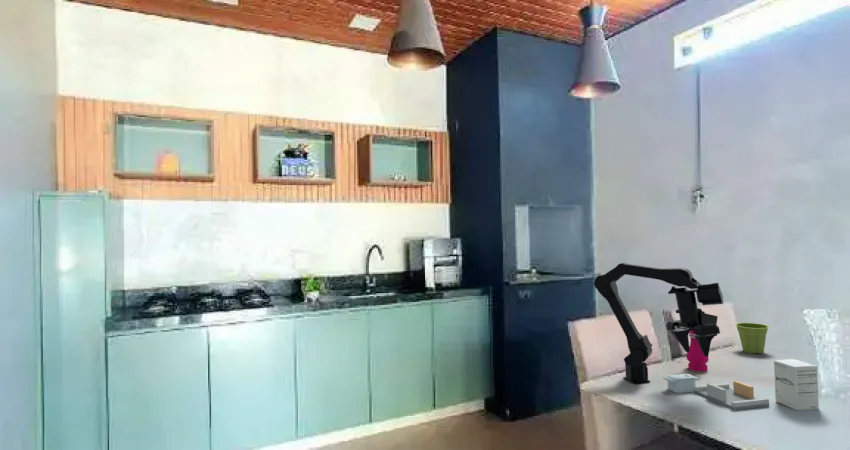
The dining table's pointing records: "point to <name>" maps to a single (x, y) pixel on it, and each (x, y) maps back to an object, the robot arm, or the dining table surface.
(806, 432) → the dining table surface
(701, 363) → the pepper mill
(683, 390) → the light blue knobbed block
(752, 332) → the plant pot
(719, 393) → the mounting plate
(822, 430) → the dining table surface
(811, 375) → the supplement box
